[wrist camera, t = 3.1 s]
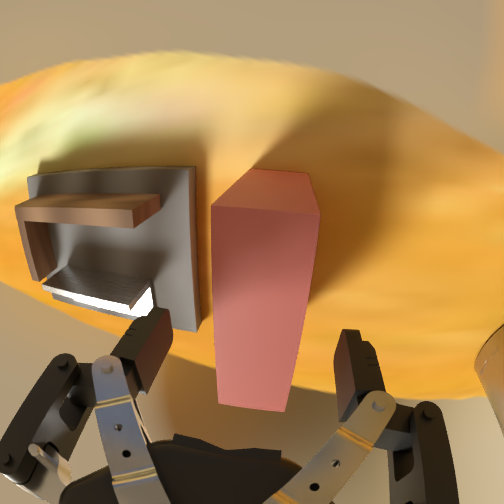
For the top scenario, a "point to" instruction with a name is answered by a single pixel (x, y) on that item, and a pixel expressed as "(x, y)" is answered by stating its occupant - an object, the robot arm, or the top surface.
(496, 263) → the top surface
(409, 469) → the robot arm
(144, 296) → the bookend
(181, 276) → the book rack
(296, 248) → the book
